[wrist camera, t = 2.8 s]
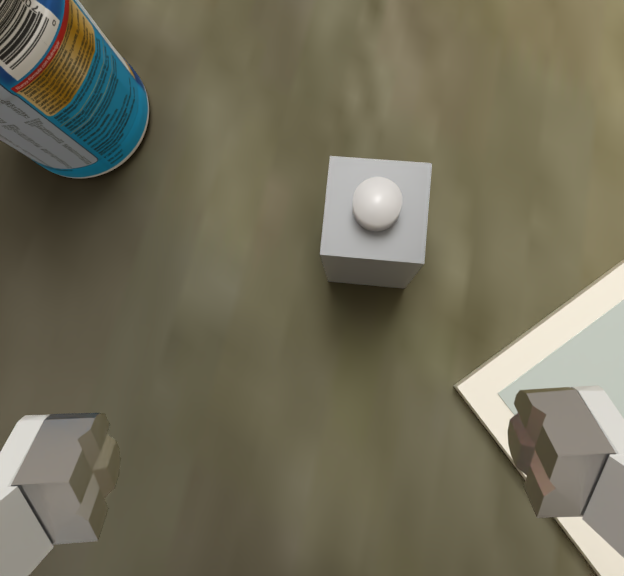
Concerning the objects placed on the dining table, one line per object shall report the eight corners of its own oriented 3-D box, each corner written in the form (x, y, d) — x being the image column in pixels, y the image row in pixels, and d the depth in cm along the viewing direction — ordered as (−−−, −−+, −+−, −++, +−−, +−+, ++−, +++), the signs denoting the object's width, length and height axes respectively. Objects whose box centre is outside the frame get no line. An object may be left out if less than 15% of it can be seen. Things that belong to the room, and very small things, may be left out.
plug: (404, 288, 30) (428, 258, 21) (328, 281, 30) (317, 248, 21) (410, 213, 30) (436, 152, 21) (335, 207, 31) (328, 145, 22)
